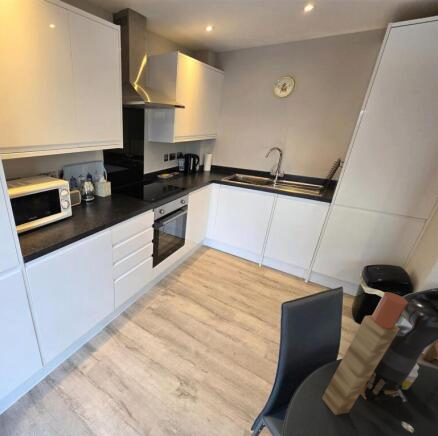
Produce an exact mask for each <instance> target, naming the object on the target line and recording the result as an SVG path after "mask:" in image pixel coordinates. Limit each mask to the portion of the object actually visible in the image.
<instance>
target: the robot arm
mask: <svg viewBox="0 0 438 436" xmlns="http://www.w3.org/2000/svg"><path fill="white" fill-rule="evenodd" d="M402 297H403V298H404V299H405V300H407V302H408V304H407V305H406V307H405V309H404V310H403V312H402V314H401V315H400V316H402V318H404V319H405V321H407V322H408V323H409V324H410V325H411V326H407V325H405V324H395V326H397V327H398V328H400V329H399V331H398V333H397V334H396V336H395V337H394V339H393V341H392V342H391V344H390V346H389V347H388V349H387V350H386V352H385V354H384V355H383V357H382V359H381V360H380V362H379V363H378V365H377V367H376V368H375V370H374V372H373V373H372V375H371V376H370V378H369V380H368V381H367V388H366V390H365V391H364V394H365V397H366V398H367V399H366V400H367V401H368V402H378V401H377V400H378V398H379V397H380V398H381V399H382V400H384V401H389V402H395V403H405V402H409V398H408V396H406V395H404V394H403V391H402V390H403V389H402V384H403V382H404V381H405V380H406V378H407V377H408V375H409V374H410V373H411V371H412V370H413V368H414V367H415V365H416V363H417V364H418V360H419V358H420V357H421V355H422V354H423V353H424V351H425V350H426V348H428V347H430V346H431V345H433V344H434V343H436V342H438V286H436V287H431V288H427V289H423V290H419V291H414V292H411V293H408V294H406V295H403V296H402ZM386 390H392V391H395V393H393V394H386V393H384V392H385V391H386Z"/></svg>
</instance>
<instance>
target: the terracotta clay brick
mask: <svg viewBox="0 0 438 436" xmlns="http://www.w3.org/2000/svg"><path fill="white" fill-rule="evenodd" d="M407 304H408V302H407V300H405V299H404V298H403V296H401V295H399V294H396V293H394V292H388V291H386V292H384V293H383V295H382V296H381V298H380V300H379V302H378V304H377V306H376V308H375V309H374V311H373V313H372V317H371V318H372V320H373V321H374V322H375V323H376V324H378V325H380V326H382V327H384V328H388V329H392V328H393V327H394V325H397V322H398V320H399V319H400V317H401V316H402V315H401V314H402V312H403V310H404V309H405V307H406V305H407Z"/></svg>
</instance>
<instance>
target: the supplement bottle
mask: <svg viewBox="0 0 438 436" xmlns="http://www.w3.org/2000/svg"><path fill="white" fill-rule="evenodd" d="M419 369H420V366H419V365H418V362H417V363H416V365H415V367H414V368H413V370H412V371H411V373H410V374H409V375H408V377H407V378H406V380H405V381H404V382H403V384H402V390H409V389H410V388H411V386H412V385H413V383H414V382H415V381H416V379H417V377H418V376H419Z"/></svg>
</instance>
